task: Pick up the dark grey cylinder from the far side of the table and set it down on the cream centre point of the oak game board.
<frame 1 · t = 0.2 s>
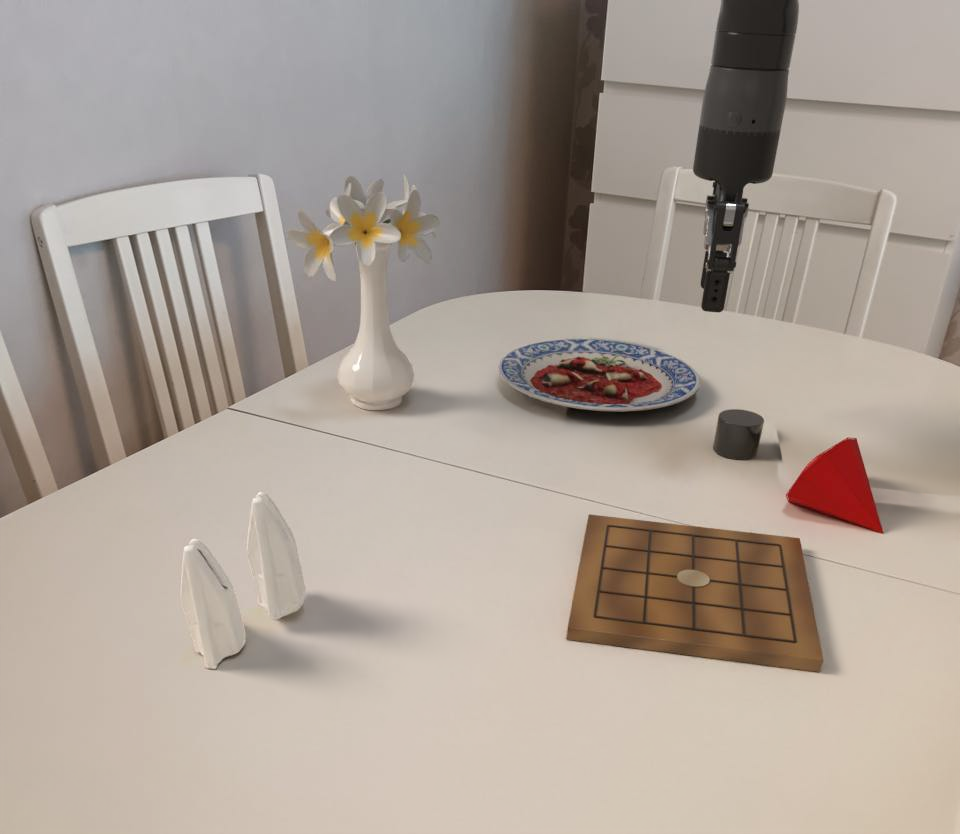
hand: (711, 299, 100), 17 cm above the table, tool pointing down, fingers open, 8 cm apart
board: (691, 590, 85), on the table
shaker set: (253, 629, 78), on the table
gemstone: (838, 513, 99), on the table
flower vase: (376, 405, 118), on the table
ceramic plate: (596, 388, 126), on the table
dark grey cylinder: (734, 450, 110), on the table
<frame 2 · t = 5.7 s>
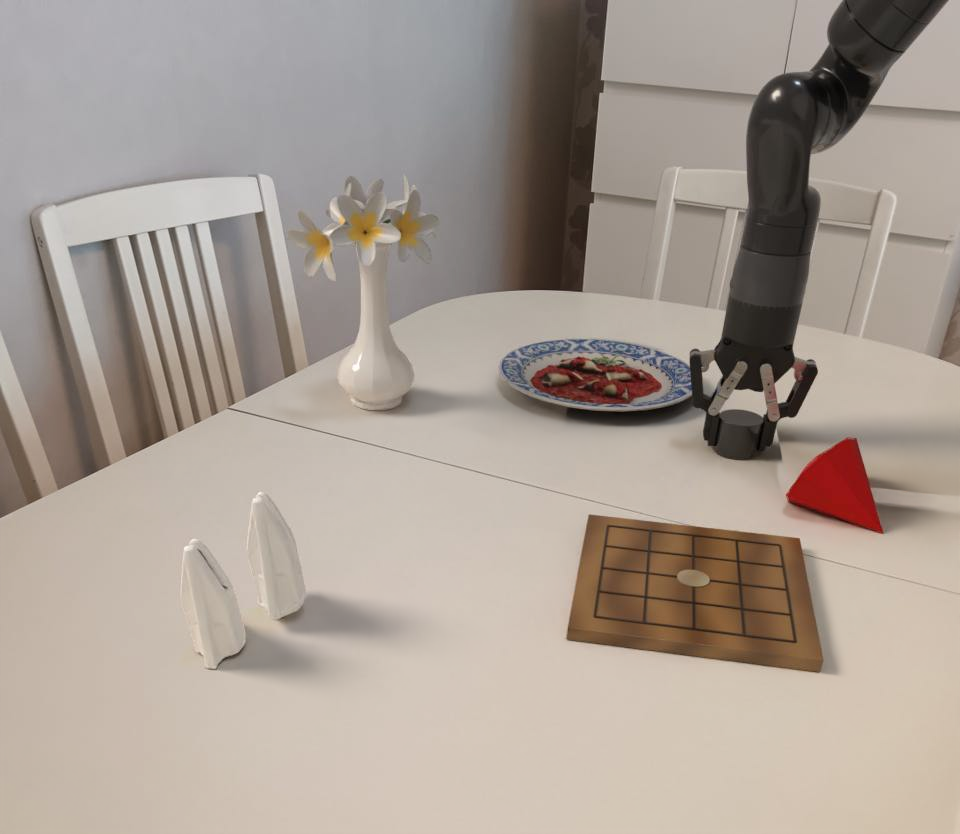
hand: (736, 445, 110), 1 cm above the table, tool pointing down, fingers closed on dark grey cylinder, 5 cm apart
dark grey cylinder: (734, 450, 110), on the table, touching gripper
everything else where it was.
when the fingers open (2 cm above the table, at t = 12.1 s): dark grey cylinder stays where it is, resting on board.
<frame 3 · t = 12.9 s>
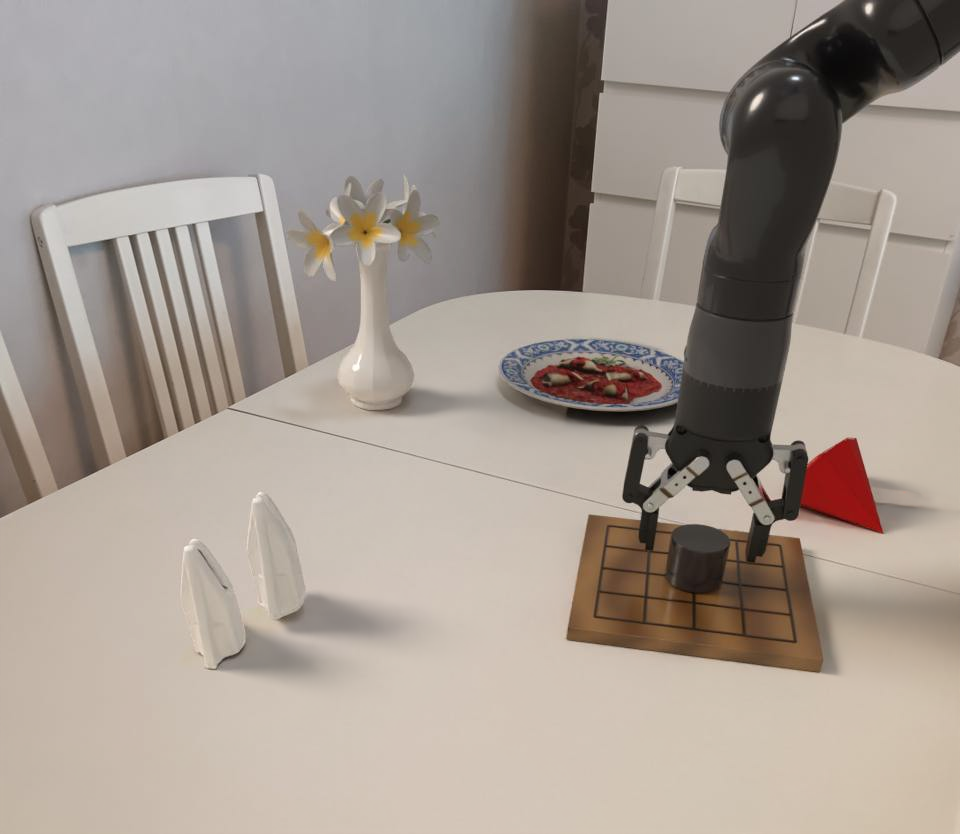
hand: (699, 551, 83), 4 cm above the table, tool pointing down, fingers open, 8 cm apart
dark grey cylinder: (693, 578, 84), point 1 cm above the table, touching board
everything else where it was.
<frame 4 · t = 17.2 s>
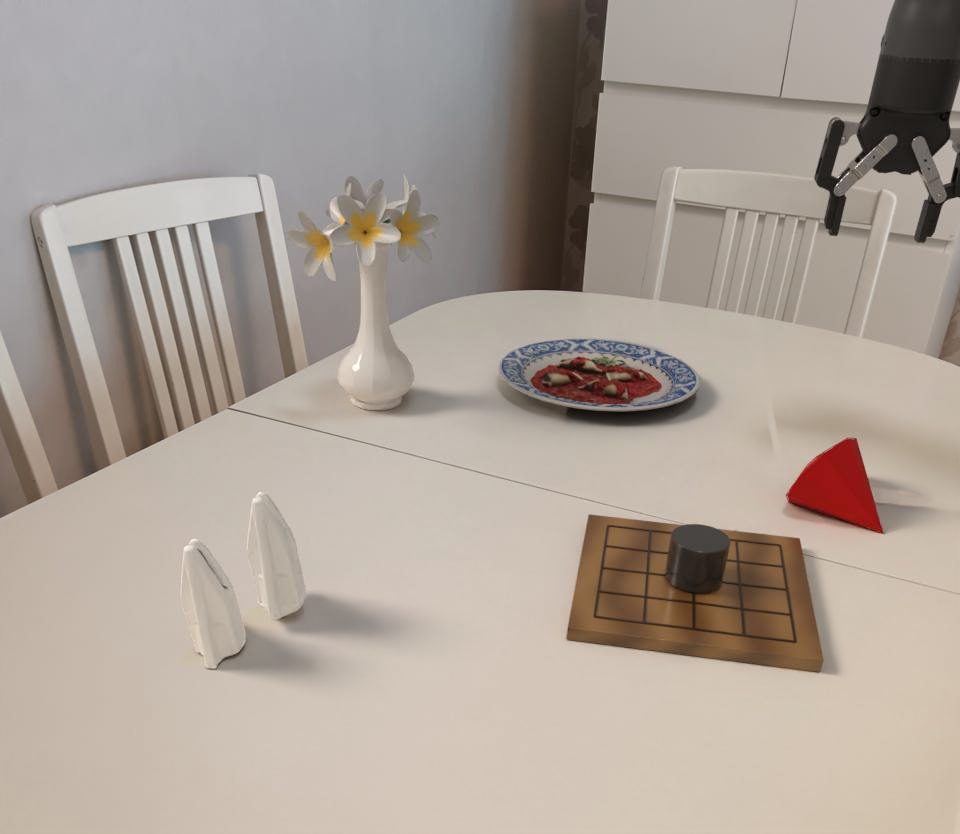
hand: (875, 237, 98), 23 cm above the table, tool pointing down, fingers open, 8 cm apart
nothing on the table moved.
at the end: dark grey cylinder 0.0 cm off-centre on the board, point 1.3 cm above the board's base; dark grey cylinder tilted 0°; the gripper is holding nothing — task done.
